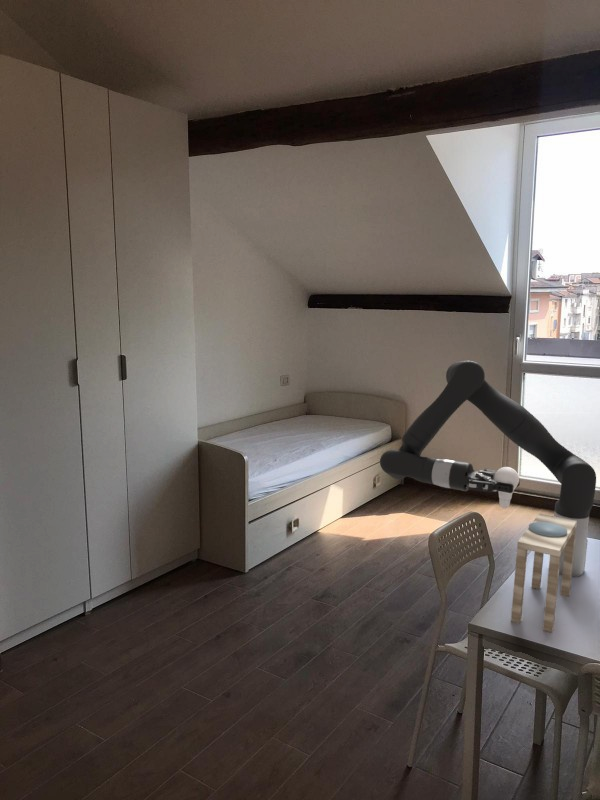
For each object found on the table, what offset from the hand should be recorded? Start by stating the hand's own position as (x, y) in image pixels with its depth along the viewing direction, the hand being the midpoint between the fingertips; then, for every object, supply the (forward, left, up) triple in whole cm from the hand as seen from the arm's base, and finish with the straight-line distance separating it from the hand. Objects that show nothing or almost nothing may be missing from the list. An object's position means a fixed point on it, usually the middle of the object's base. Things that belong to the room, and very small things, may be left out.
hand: (516, 485), depth 165 cm
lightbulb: (+1, -2, -7) cm, 7 cm away
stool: (-3, +8, -31) cm, 32 cm away
